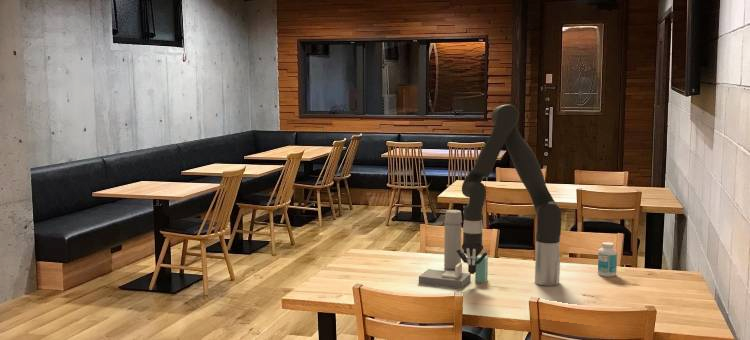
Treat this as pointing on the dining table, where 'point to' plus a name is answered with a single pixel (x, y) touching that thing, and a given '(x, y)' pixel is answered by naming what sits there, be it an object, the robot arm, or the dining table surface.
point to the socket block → (443, 279)
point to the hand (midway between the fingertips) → (472, 273)
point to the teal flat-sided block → (481, 270)
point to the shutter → (454, 274)
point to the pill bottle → (607, 260)
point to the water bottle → (452, 238)
